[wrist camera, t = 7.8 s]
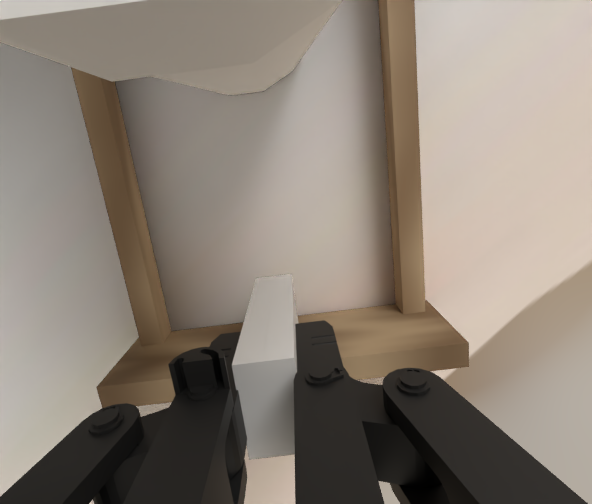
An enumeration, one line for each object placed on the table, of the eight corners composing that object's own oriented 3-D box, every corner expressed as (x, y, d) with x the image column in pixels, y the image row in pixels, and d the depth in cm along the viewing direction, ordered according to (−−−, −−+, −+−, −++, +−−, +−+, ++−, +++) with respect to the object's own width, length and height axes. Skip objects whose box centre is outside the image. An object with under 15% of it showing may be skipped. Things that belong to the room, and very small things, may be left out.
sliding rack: (145, 353, 18) (103, 410, 14) (19, -151, 13) (-106, -296, 9) (427, 319, 18) (468, 366, 14) (408, -205, 13) (465, -377, 9)
